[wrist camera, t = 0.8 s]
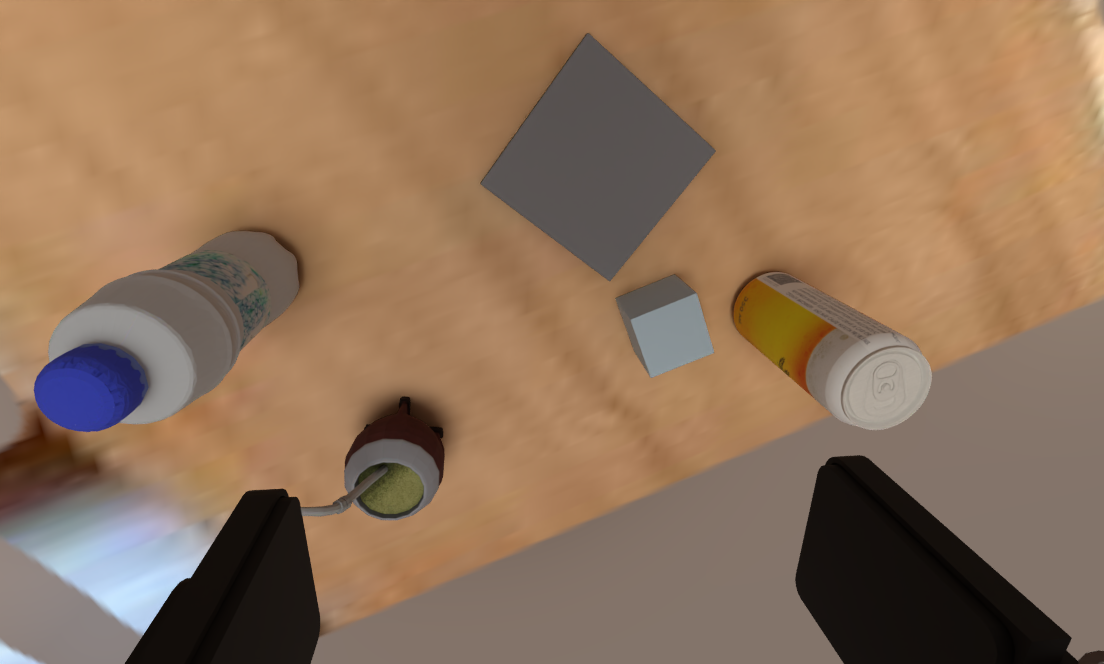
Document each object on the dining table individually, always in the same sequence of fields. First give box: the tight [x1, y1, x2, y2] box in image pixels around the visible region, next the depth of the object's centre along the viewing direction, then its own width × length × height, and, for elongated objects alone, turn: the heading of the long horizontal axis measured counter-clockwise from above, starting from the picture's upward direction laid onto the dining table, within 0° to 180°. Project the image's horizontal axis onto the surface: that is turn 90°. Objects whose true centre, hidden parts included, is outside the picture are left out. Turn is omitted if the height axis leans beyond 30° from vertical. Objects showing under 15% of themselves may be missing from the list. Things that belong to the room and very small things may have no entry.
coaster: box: [481, 33, 716, 281], centre depth 40 cm, size 12×12×1 cm
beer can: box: [733, 272, 932, 430], centre depth 39 cm, size 6×6×15 cm
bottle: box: [34, 231, 299, 432], centre depth 31 cm, size 7×7×20 cm
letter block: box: [615, 274, 714, 378], centre depth 43 cm, size 5×5×5 cm
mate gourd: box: [301, 397, 444, 520], centre depth 39 cm, size 8×8×15 cm
